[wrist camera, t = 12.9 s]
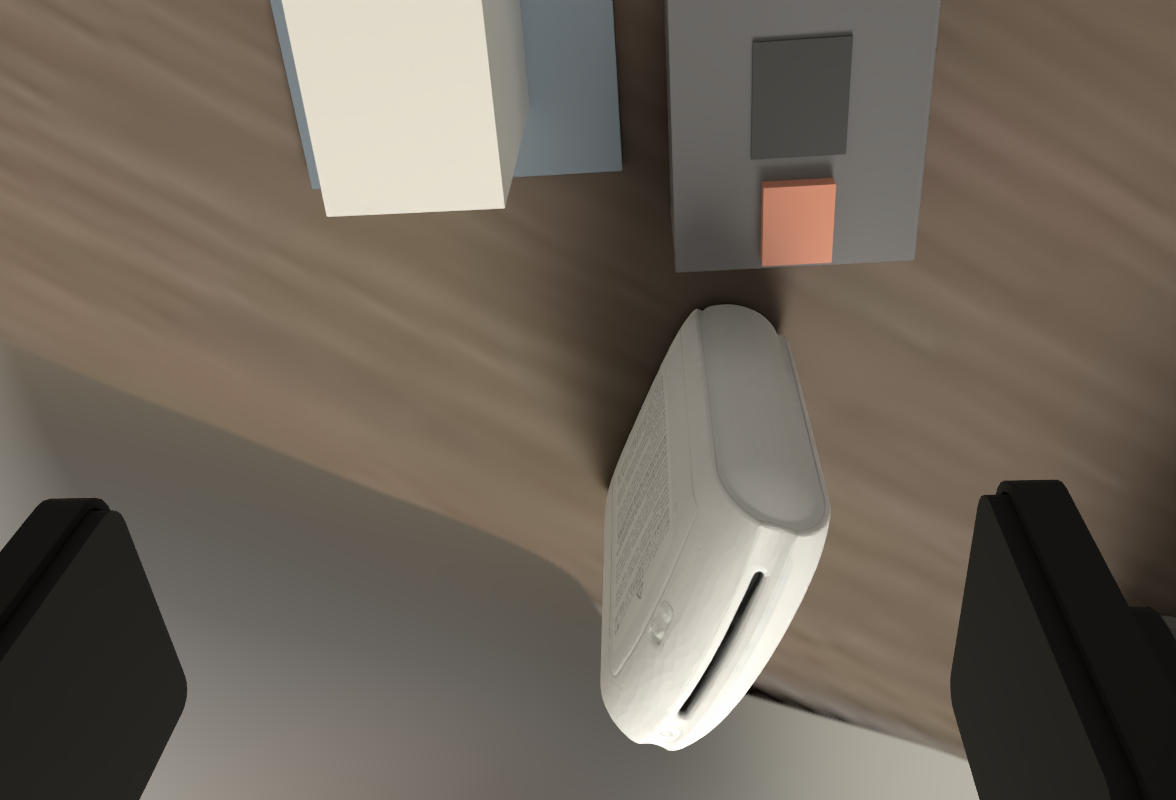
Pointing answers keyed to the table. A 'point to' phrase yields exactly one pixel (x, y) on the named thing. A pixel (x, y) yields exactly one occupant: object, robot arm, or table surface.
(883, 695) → the table surface
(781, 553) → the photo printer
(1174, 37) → the table surface
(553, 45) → the mat
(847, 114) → the power strip
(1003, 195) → the table surface
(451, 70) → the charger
